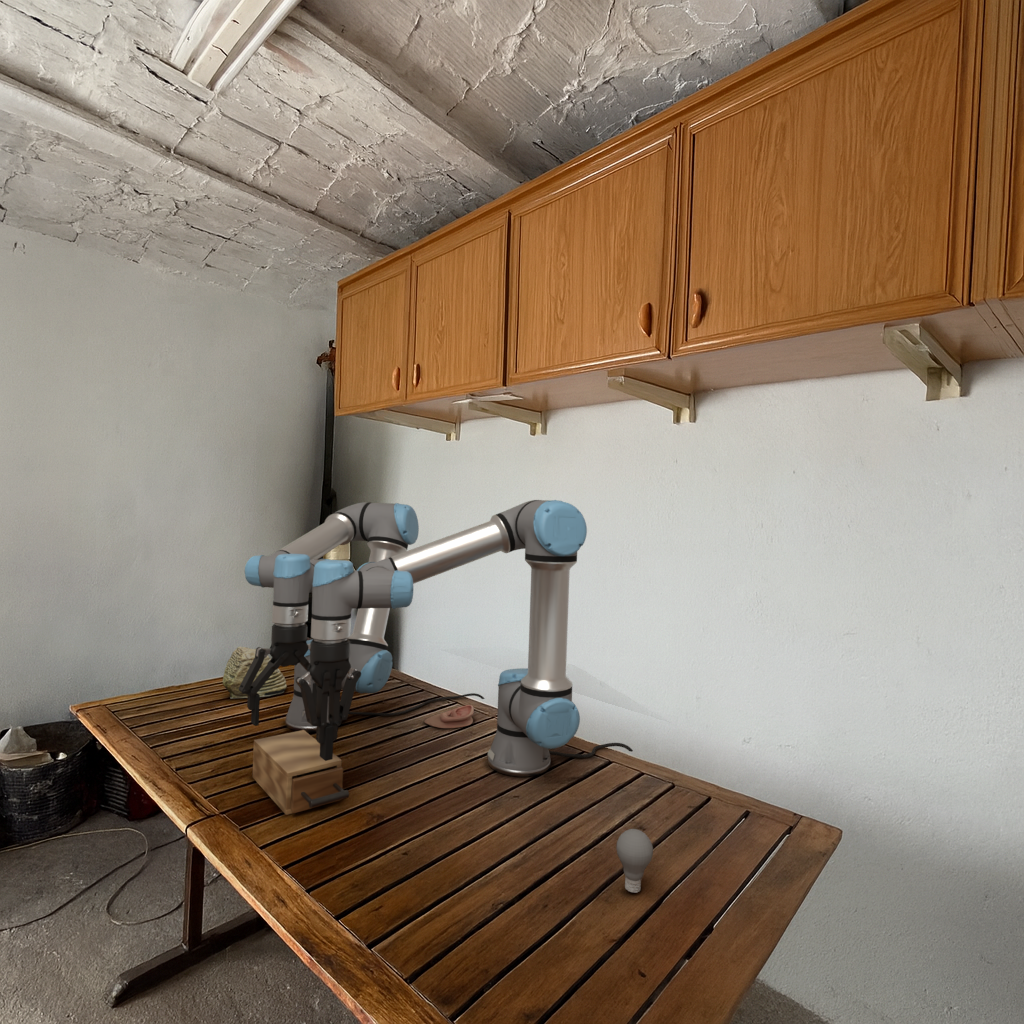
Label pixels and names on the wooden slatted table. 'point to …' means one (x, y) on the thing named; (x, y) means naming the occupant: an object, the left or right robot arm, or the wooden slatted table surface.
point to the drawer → (317, 789)
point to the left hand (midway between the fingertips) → (286, 718)
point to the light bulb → (634, 857)
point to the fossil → (239, 668)
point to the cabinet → (286, 763)
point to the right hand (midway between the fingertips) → (326, 757)
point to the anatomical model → (452, 718)
